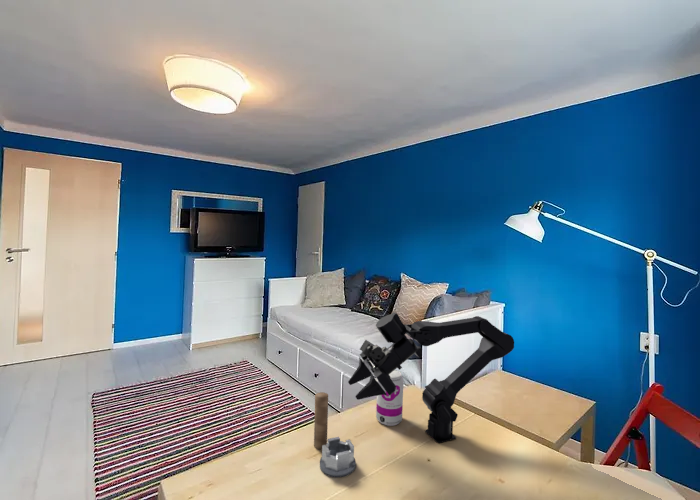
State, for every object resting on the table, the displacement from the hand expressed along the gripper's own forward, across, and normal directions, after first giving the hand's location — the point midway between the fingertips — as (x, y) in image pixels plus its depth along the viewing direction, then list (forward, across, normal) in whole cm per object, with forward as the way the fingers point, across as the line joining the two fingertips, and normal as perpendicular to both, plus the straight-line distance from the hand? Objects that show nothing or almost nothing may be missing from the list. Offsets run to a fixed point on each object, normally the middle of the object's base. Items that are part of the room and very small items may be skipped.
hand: (352, 390), depth 95 cm
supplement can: (-2, -11, +21) cm, 24 cm away
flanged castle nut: (+13, +8, +9) cm, 18 cm away
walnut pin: (+16, -1, +7) cm, 17 cm away
